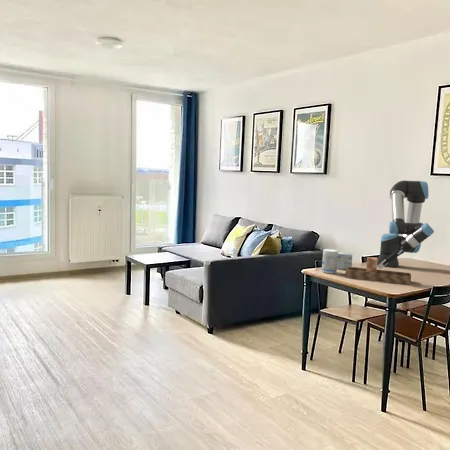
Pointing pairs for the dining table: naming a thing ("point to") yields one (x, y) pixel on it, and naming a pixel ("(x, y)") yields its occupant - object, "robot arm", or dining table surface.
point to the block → (371, 264)
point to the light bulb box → (344, 260)
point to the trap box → (379, 275)
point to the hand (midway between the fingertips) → (378, 267)
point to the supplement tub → (329, 261)
